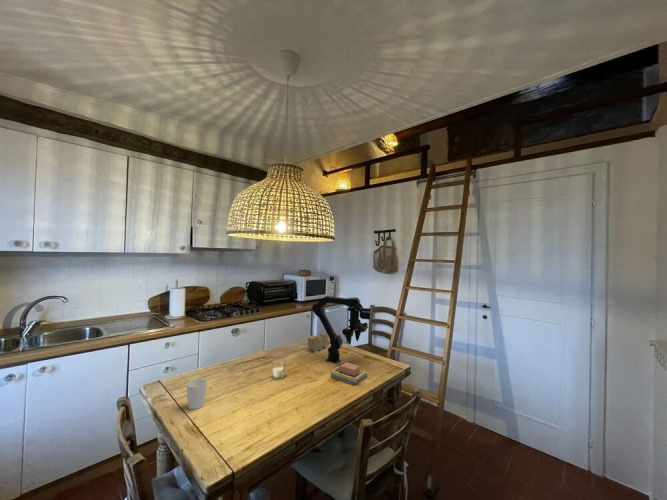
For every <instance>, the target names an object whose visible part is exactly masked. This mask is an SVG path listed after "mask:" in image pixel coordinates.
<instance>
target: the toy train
mask: <svg viewBox="0 0 667 500" xmlns="http://www.w3.org/2000/svg"><path fill="white" fill-rule="evenodd" d="M306 339H307V347H308V350H309V351H312V352H314V353H317V352H318V351H322V350H323V349H328V345H330V340H329V336H328V334H327V333H323V332H320V334H319V335H314V334H313V335H310V336H309V335H308V336H307V337H306ZM316 351H317V352H316Z"/></svg>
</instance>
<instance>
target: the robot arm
mask: <svg viewBox="0 0 667 500" xmlns="http://www.w3.org/2000/svg"><path fill="white" fill-rule="evenodd" d="M327 304H334V305H344V306H347V307H348V308H347V309H346V311H348V312H349V318H348V322H349V325H348V326H347V327H345V328H343V329H342V330H341V334H342V335H344V337H345V339H346V342H347V344H348V346H350V345H352V337H353V336H355V341H356V342H358V341H359V339H360V336H361V335H362V333H364V332H367V329H369V326H368V324H369V323H368V322H362V321H361V319H362V320H371V318H372V309H371V308H369V307H368V308H367V307H363V305H362V304H361V300H360V299H359V297H356V296H355V297H346V298H345V297H338V296H329V295H326V296H324V297H323V298H322V299H321V300H319V302H316V303H314V304H312V307H311V311H312V312H313V314H314V315H315V316H316V317H318V318H319V320H320V322H321V324H322V326H323V328H324V330H325V331H326V334H327V337H328V339H329V345H330V346H329V347H327V353H328V355H327V356H328V358H327V359H326V361H327V362H331V363H333V364H335V363H337V362H340V361H341V359H340V351H339V350H340V349H341V348H342V346H343V339H342V337H341V335H340V334H338V335H337V333H336V332H335V331H334V329H333V327H332V324H331V323H330V321H329V318H328V317H327V315H326V310H325V306H326V305H327Z"/></svg>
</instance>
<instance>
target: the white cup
mask: <svg viewBox="0 0 667 500" xmlns="http://www.w3.org/2000/svg"><path fill="white" fill-rule="evenodd" d="M207 383H208V380H207V379H205V378H195V379H191V380H189V381H188V382H187V384H186V395H187V396H186V398H187V400H186V401H187V408H188V409H190V410H197V409H201V408H202V407H204V406H205V402H206V401H205V400H206V394H207V386H208V385H207Z"/></svg>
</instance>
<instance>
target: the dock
mask: <svg viewBox="0 0 667 500" xmlns="http://www.w3.org/2000/svg"><path fill="white" fill-rule="evenodd" d="M330 378H331V379H335V380H338V381H340V382H343V383H346V384H349V385H352V386H354V387H356V386H357V385H359V384H360V383H362V381H363V380H365V379H367V378H368V373H367V371H360V373H359V374H357V375H356V376H353V377H351V376H350V375H348V374H345V373H342V374H341V373H340V372H339V365H338V366H336V367H335V368H334V369H331V370H330Z"/></svg>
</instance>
